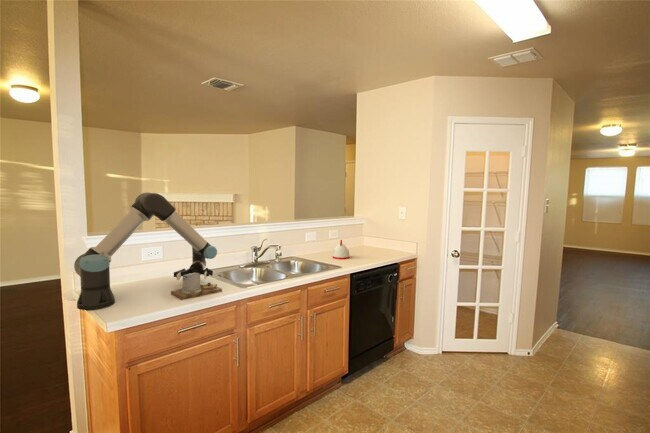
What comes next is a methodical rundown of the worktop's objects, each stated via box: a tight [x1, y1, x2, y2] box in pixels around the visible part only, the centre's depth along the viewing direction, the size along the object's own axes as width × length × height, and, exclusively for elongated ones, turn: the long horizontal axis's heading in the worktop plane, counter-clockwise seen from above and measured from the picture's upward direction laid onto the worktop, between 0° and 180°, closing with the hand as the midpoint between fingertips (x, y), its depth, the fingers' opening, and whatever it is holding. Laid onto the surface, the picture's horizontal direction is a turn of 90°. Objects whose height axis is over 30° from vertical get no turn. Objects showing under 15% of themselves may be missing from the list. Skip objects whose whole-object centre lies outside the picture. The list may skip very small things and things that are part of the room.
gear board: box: [170, 282, 223, 301], centre depth 188 cm, size 22×14×4 cm, turn 135°
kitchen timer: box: [332, 239, 350, 261], centre depth 289 cm, size 14×14×15 cm
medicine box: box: [182, 273, 201, 292], centre depth 186 cm, size 8×4×9 cm, turn 147°
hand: (191, 277), depth 184 cm, fingers open, 13 cm apart
